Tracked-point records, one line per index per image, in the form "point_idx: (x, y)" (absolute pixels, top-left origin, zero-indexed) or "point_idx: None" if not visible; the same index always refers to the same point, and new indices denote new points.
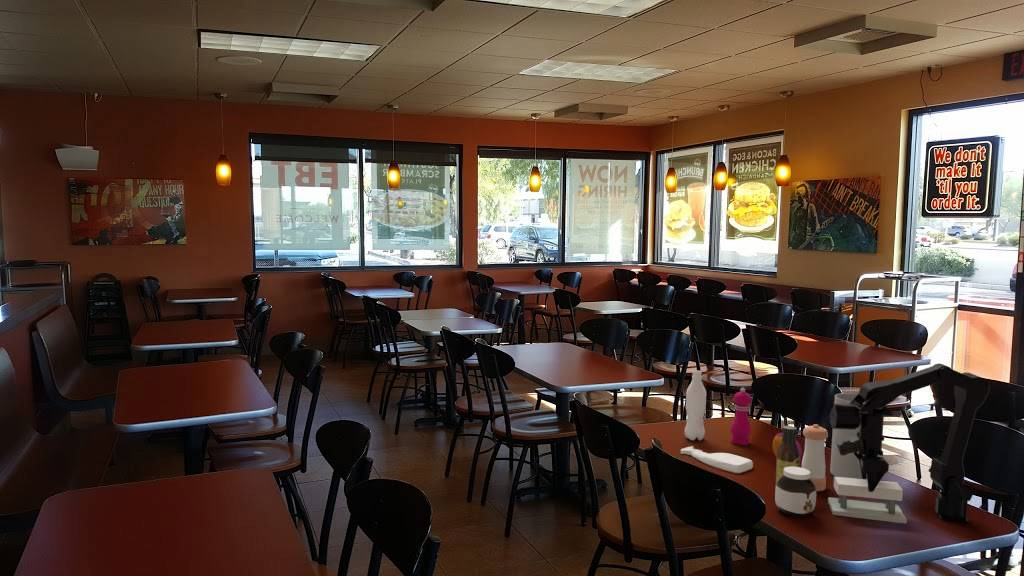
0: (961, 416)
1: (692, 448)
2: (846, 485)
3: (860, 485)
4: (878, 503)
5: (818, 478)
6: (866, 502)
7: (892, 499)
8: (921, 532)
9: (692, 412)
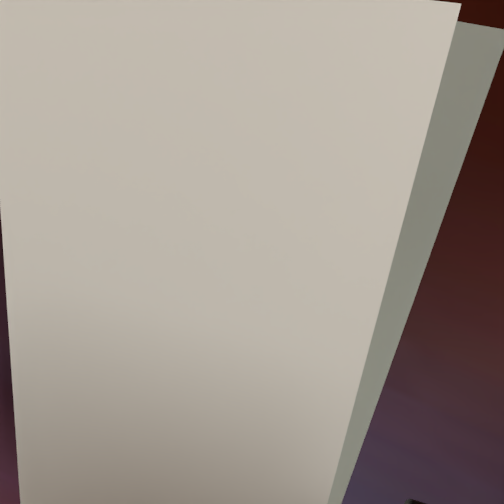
0: None
1: None
2: (6, 110)
3: (34, 331)
4: (350, 437)
5: None
6: (367, 360)
7: None
8: (6, 452)
9: None
